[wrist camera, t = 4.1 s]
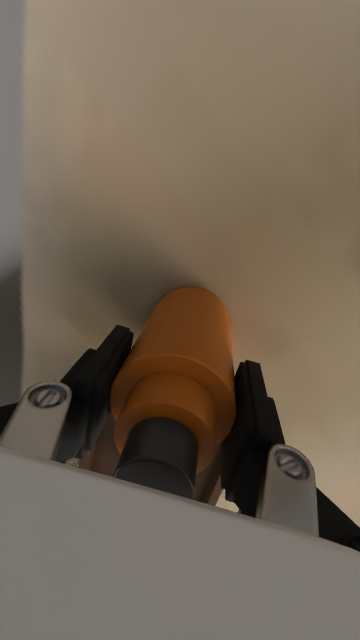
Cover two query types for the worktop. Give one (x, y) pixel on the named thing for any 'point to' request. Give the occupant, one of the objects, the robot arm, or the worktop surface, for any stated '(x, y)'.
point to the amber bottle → (175, 393)
